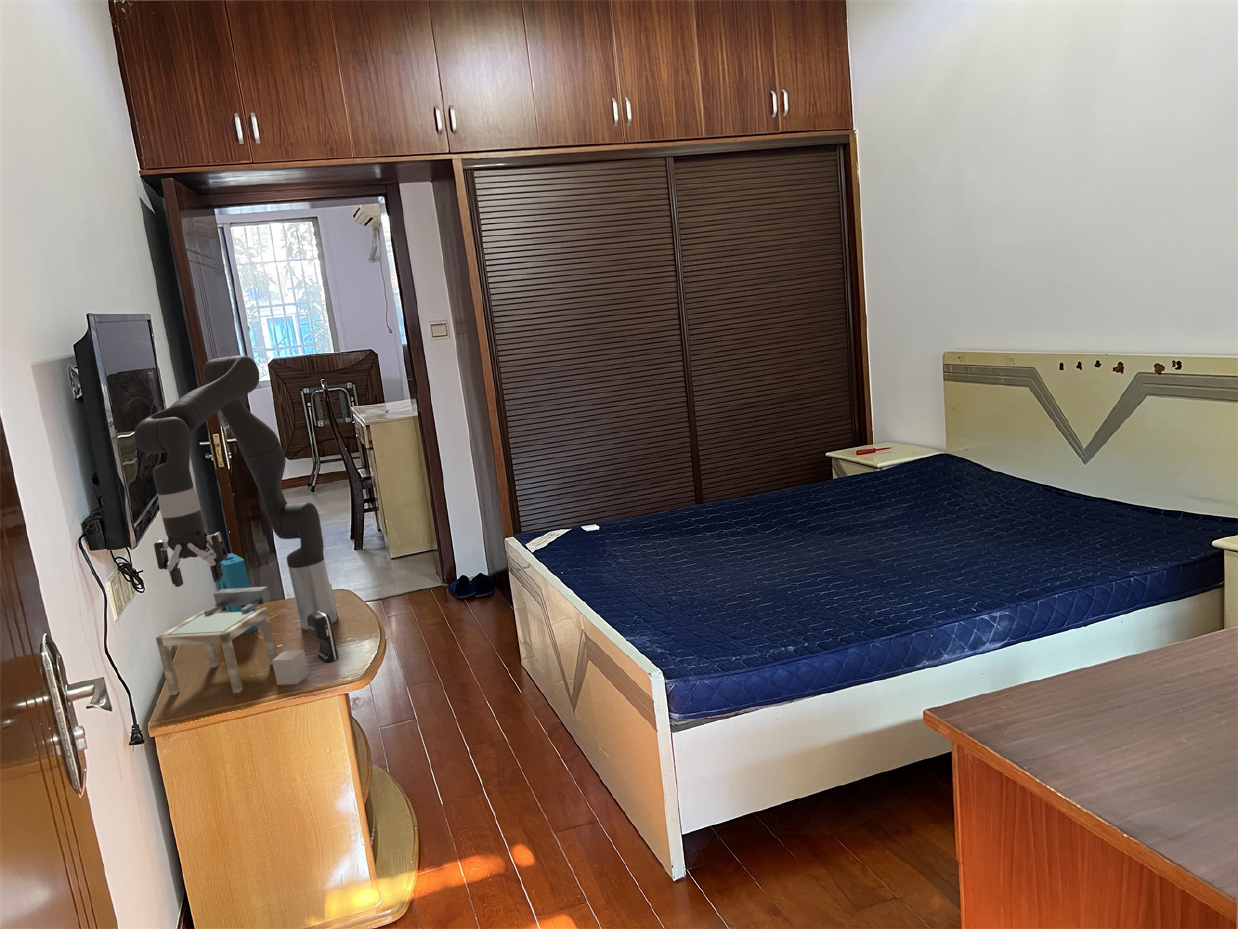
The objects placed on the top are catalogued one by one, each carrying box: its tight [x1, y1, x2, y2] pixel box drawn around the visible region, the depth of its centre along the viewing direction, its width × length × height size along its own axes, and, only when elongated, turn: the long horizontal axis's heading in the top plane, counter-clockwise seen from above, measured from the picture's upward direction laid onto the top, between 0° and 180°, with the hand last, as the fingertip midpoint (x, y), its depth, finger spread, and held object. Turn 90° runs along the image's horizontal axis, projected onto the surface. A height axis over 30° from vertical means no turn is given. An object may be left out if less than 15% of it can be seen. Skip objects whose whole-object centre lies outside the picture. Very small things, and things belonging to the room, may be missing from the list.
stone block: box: [272, 649, 310, 686], centre depth 206 cm, size 5×5×6 cm
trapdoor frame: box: [155, 607, 279, 696], centre depth 211 cm, size 16×18×14 cm
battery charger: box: [307, 611, 339, 663], centre depth 215 cm, size 7×4×11 cm, turn 40°
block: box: [218, 552, 259, 636], centre depth 244 cm, size 12×5×20 cm, turn 39°
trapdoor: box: [169, 585, 271, 635], centre depth 213 cm, size 20×14×4 cm
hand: (198, 583), depth 195 cm, fingers open, 8 cm apart
